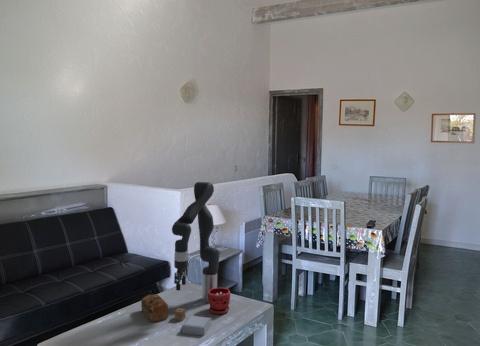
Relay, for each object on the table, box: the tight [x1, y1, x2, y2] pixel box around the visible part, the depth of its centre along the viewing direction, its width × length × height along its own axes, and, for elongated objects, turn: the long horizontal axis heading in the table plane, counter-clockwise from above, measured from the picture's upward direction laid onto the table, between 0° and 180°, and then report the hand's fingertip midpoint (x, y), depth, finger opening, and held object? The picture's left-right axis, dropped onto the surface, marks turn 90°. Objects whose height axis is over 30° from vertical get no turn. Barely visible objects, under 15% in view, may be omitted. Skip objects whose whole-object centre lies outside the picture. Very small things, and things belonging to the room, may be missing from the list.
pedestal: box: [181, 315, 212, 337], centre depth 206 cm, size 12×12×4 cm
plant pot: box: [208, 287, 231, 315], centre depth 229 cm, size 13×13×12 cm
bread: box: [140, 294, 170, 323], centre depth 222 cm, size 19×11×10 cm, turn 30°
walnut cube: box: [174, 307, 186, 322], centre depth 218 cm, size 4×4×5 cm
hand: (180, 287), depth 216 cm, fingers open, 8 cm apart
